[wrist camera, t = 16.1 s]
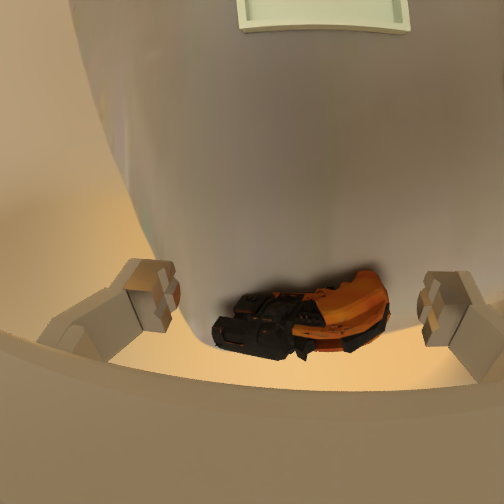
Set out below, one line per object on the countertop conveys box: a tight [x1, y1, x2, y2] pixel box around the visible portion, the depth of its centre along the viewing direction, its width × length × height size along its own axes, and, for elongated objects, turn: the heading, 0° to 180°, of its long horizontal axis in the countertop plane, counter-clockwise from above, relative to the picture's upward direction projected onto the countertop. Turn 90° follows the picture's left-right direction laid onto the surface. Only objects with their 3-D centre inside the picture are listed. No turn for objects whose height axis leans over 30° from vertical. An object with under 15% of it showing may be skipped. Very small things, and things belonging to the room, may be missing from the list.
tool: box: [212, 270, 391, 361], centre depth 42 cm, size 8×23×15 cm, turn 110°
